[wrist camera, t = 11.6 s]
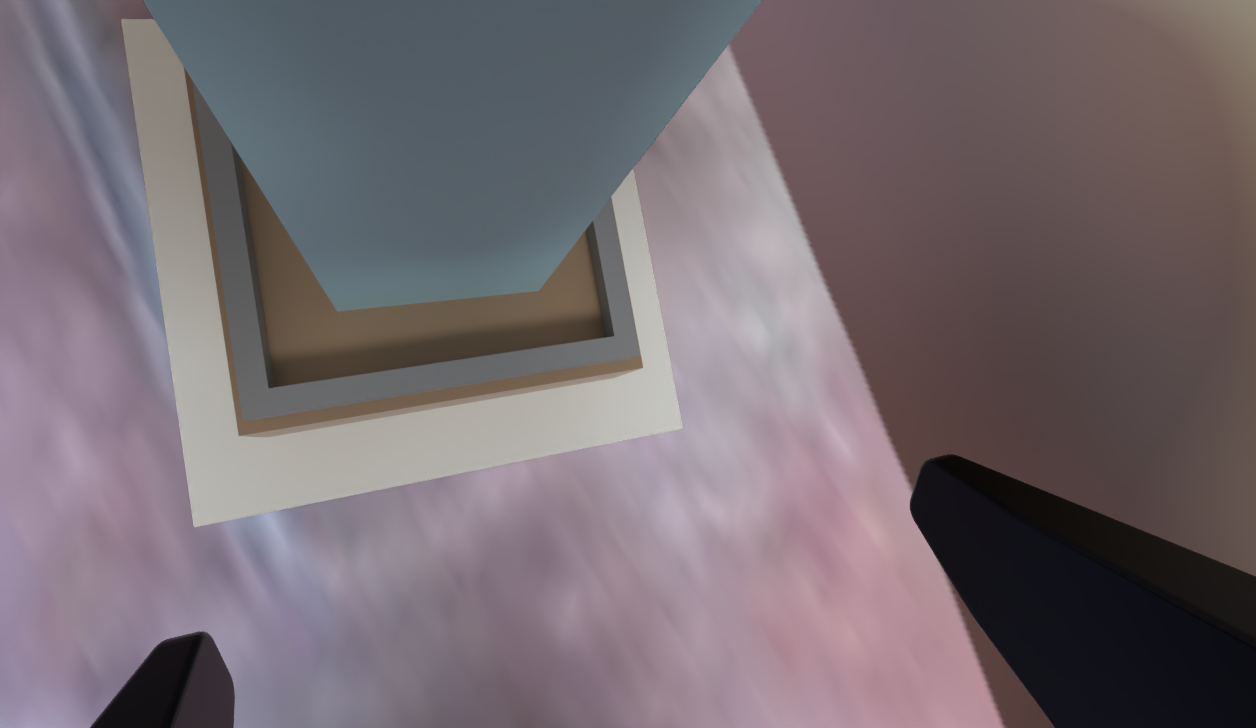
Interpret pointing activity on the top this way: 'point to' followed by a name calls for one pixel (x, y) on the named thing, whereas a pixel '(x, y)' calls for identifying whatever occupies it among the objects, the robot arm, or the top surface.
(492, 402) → the build base
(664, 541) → the top surface
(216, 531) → the top surface
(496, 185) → the pillar
